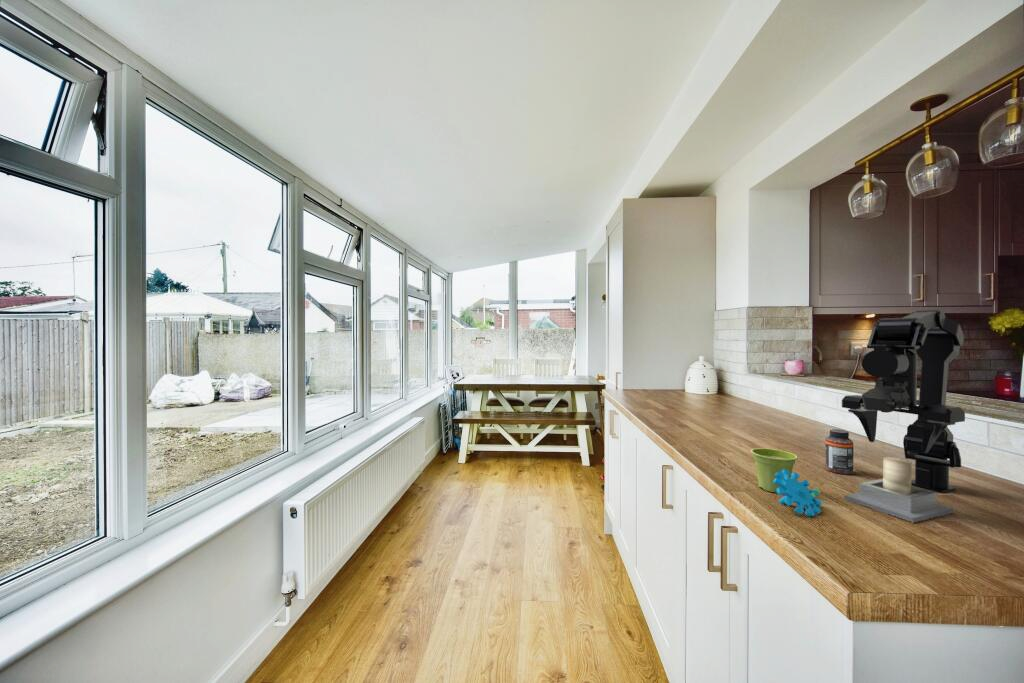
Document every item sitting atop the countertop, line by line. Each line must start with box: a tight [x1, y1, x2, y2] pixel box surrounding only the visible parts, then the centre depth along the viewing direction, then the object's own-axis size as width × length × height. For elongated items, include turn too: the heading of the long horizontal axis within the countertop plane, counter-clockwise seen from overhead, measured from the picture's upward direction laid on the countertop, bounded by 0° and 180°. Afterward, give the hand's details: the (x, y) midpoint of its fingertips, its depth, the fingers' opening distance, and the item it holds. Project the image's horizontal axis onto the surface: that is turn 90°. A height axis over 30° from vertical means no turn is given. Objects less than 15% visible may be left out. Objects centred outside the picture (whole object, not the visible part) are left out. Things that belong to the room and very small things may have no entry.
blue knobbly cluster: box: [773, 469, 823, 517], centre depth 85 cm, size 11×6×10 cm
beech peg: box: [882, 456, 912, 495], centre depth 86 cm, size 4×4×9 cm
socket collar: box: [858, 478, 938, 513], centre depth 86 cm, size 9×9×3 cm
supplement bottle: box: [824, 428, 854, 475], centre depth 108 cm, size 6×6×11 cm
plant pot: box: [750, 447, 798, 494], centre depth 95 cm, size 9×9×9 cm
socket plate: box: [843, 491, 954, 523], centre depth 86 cm, size 14×12×1 cm
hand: (897, 447), depth 86 cm, fingers open, 9 cm apart
